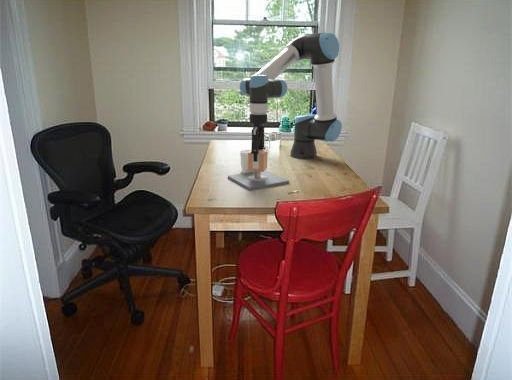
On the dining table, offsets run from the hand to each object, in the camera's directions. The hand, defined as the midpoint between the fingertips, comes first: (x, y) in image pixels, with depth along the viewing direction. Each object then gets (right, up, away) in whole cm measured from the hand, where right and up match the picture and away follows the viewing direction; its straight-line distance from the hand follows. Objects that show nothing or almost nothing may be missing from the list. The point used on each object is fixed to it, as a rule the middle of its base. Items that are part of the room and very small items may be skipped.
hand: (257, 166), depth 159 cm
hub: (0, -6, +2) cm, 7 cm away
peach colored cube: (0, -1, +1) cm, 1 cm away
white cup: (-4, -2, +16) cm, 17 cm away
